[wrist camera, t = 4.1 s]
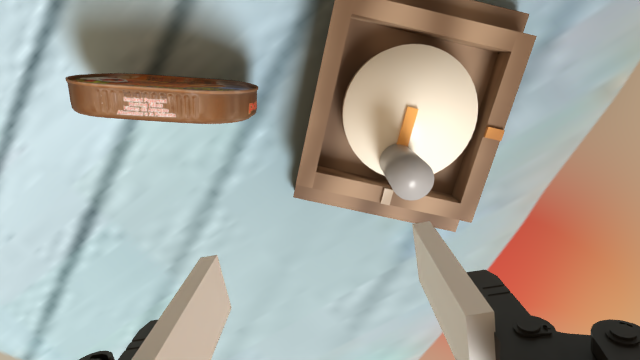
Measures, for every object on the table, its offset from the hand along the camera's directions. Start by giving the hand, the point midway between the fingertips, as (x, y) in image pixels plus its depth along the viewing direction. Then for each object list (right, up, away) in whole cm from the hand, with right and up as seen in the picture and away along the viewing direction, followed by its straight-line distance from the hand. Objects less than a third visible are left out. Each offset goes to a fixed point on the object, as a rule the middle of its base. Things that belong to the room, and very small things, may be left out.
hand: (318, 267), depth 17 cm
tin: (-13, +12, +19) cm, 26 cm away
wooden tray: (+8, +10, +19) cm, 23 cm away
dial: (+8, +10, +17) cm, 21 cm away
